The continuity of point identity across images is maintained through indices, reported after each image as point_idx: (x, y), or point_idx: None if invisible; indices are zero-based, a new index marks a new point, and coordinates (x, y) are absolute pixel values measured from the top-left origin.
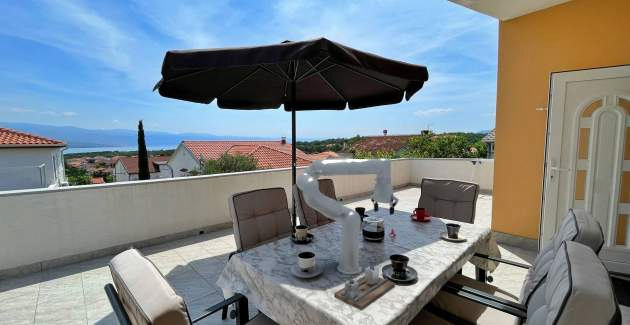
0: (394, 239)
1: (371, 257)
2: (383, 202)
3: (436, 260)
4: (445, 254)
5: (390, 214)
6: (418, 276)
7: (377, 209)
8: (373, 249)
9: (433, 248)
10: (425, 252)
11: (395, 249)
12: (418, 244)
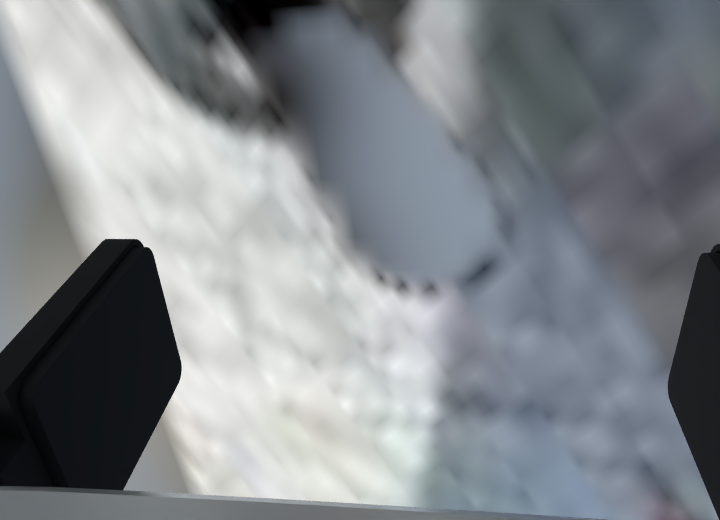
0: (650, 501)
1: (624, 47)
2: (146, 505)
3: (215, 353)
4: (241, 461)
5: (114, 239)
6: (97, 13)
7: (693, 385)
8: (706, 229)
9: (346, 501)
10: (342, 423)
11: (538, 347)
12: (456, 508)
